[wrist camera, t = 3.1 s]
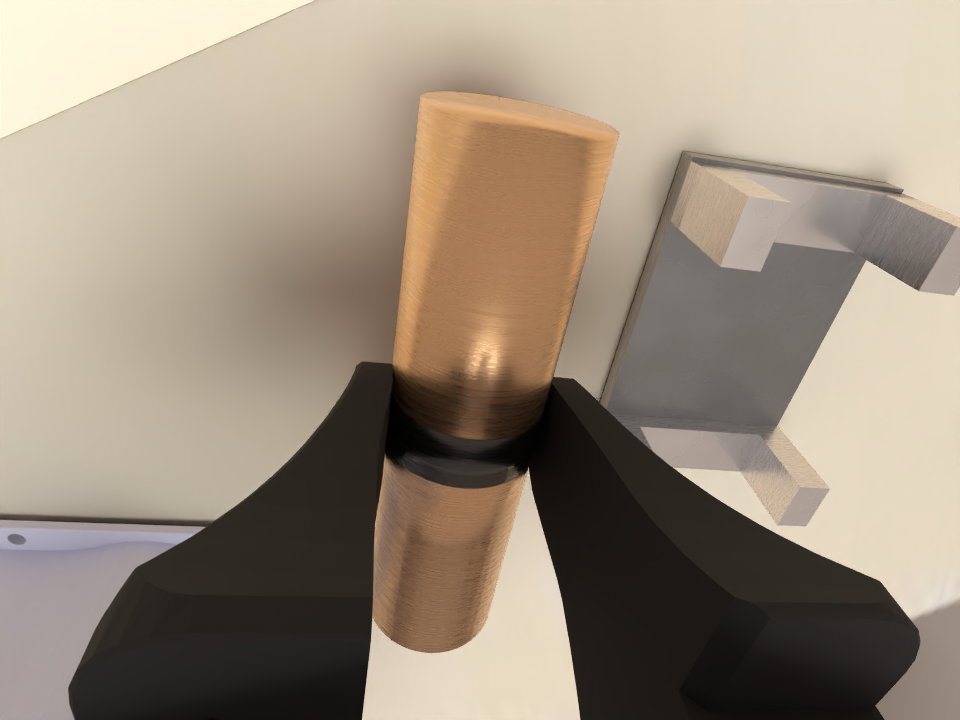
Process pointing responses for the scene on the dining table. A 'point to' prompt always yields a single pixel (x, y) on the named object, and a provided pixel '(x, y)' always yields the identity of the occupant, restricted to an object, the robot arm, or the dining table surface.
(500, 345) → the tube
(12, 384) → the dining table surface
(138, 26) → the clear flat square panel
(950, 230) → the cradle
